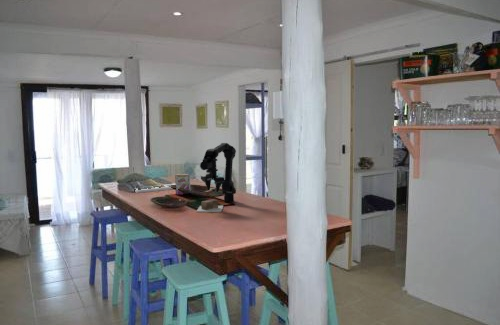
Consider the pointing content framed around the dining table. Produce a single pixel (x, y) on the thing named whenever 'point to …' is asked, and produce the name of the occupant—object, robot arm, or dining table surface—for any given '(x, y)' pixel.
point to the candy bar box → (182, 182)
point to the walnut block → (209, 204)
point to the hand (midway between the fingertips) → (212, 191)
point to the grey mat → (210, 209)
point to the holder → (166, 187)
